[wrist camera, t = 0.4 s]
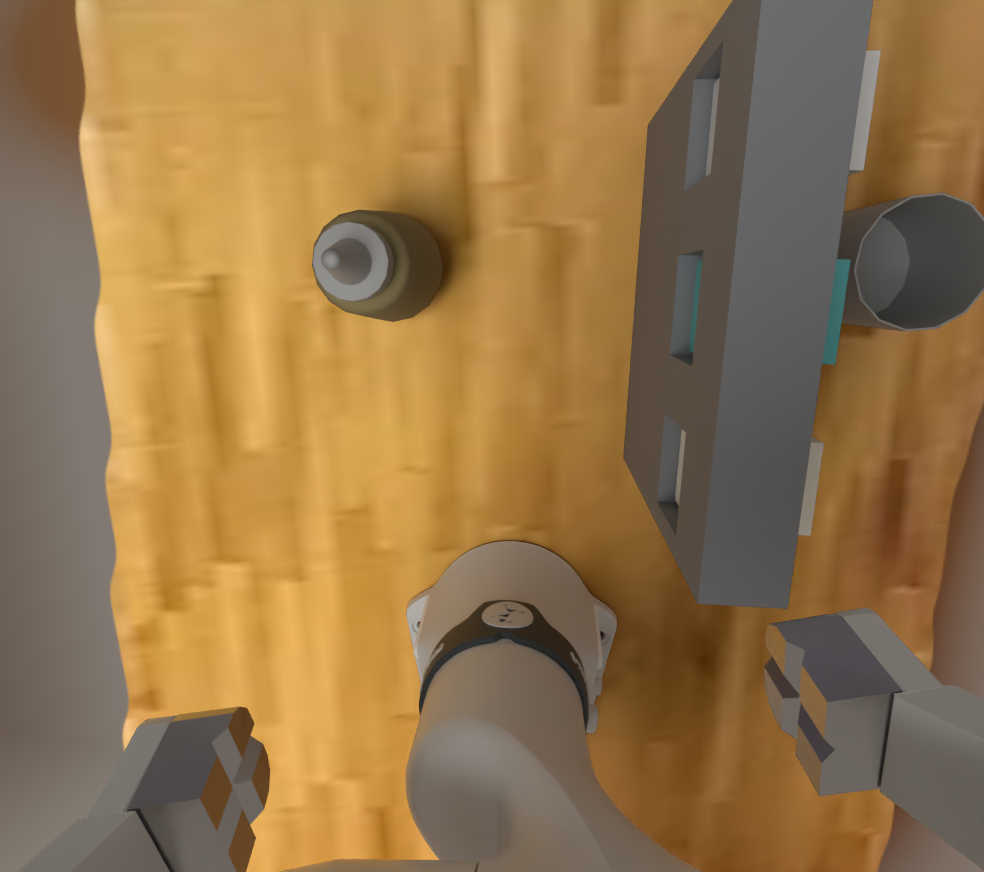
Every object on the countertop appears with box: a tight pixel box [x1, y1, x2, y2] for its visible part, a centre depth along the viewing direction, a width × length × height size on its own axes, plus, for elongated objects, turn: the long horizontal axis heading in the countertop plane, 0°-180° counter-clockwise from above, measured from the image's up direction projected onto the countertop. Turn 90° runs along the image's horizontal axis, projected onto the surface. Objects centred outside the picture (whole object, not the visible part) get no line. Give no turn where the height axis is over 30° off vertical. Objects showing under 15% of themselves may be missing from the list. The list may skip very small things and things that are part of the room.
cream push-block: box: [675, 430, 824, 536], centre depth 36 cm, size 5×6×5 cm
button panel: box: [623, 0, 873, 609], centre depth 39 cm, size 26×4×26 cm, turn 178°
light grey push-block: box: [705, 51, 881, 177], centre depth 32 cm, size 5×6×5 cm
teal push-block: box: [689, 259, 850, 364], centre depth 34 cm, size 5×6×5 cm
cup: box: [837, 193, 984, 331], centre depth 45 cm, size 8×8×10 cm
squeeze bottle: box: [312, 210, 443, 322], centre depth 44 cm, size 8×8×18 cm
